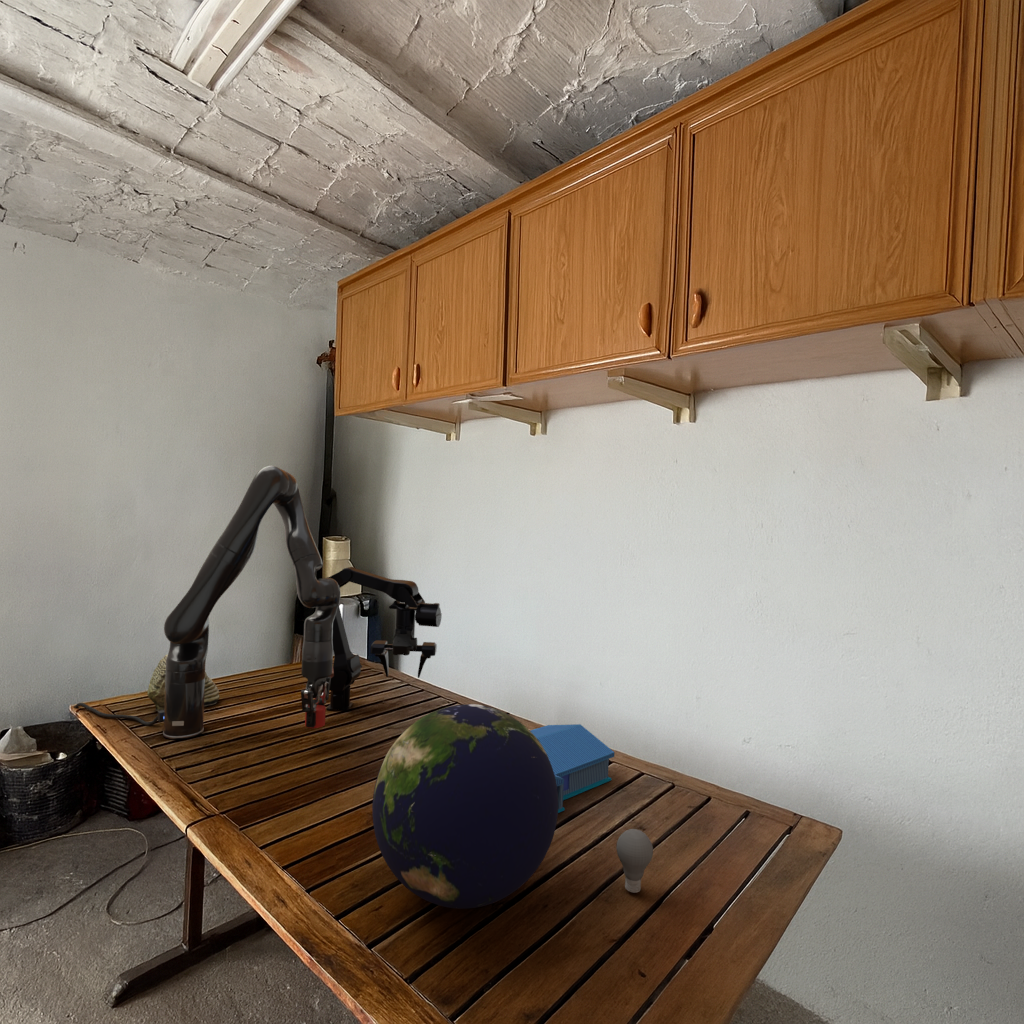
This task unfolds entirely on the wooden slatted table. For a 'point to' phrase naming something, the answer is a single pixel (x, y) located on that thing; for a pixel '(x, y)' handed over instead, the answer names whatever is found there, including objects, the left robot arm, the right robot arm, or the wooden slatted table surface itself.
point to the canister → (319, 716)
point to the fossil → (158, 687)
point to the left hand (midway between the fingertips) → (315, 722)
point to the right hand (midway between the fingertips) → (402, 677)
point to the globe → (465, 806)
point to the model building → (574, 758)
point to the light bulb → (634, 857)
